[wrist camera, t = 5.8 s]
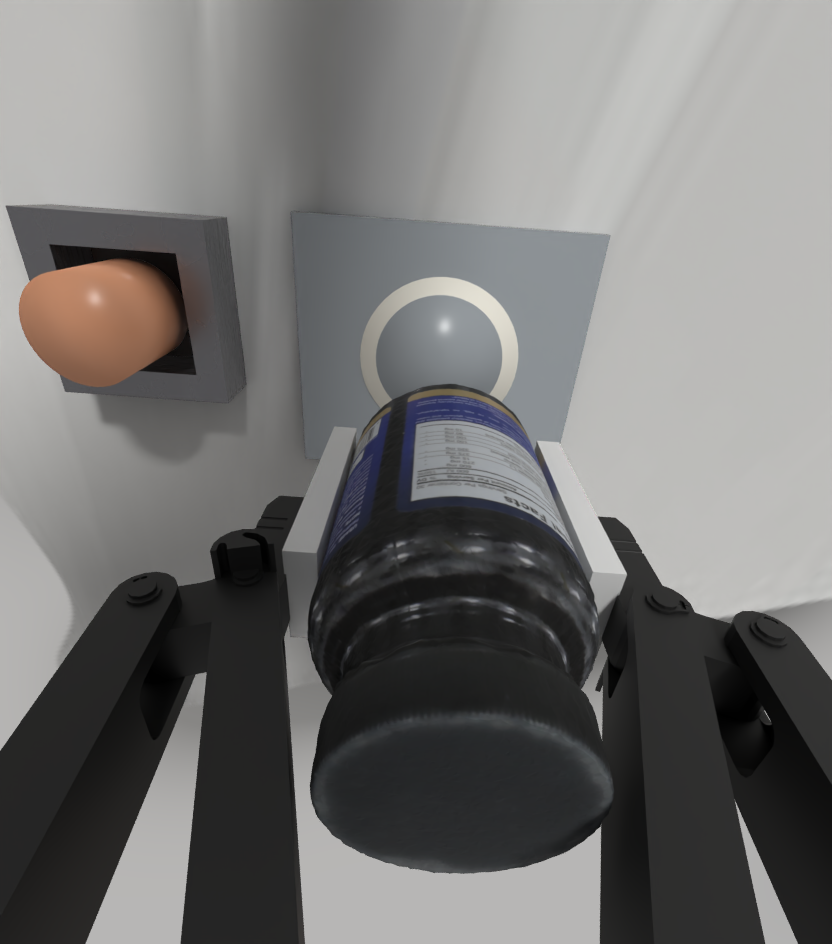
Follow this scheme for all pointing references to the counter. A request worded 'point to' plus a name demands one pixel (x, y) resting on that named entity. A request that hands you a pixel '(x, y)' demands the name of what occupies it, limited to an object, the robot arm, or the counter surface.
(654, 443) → the counter surface
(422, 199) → the counter surface
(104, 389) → the button housing
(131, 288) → the button
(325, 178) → the counter surface
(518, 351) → the board
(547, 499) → the pill bottle
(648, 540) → the counter surface
